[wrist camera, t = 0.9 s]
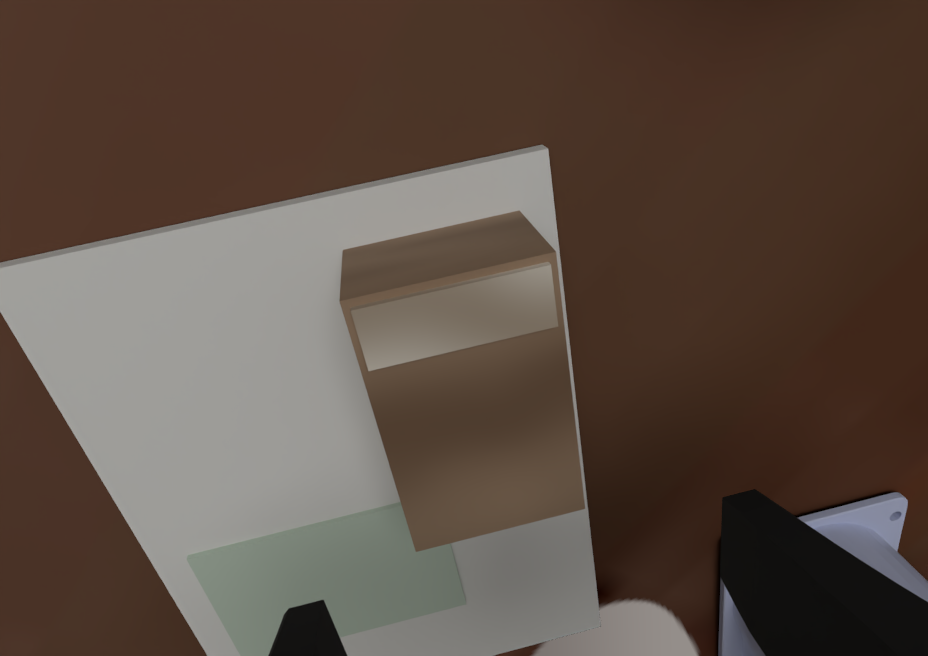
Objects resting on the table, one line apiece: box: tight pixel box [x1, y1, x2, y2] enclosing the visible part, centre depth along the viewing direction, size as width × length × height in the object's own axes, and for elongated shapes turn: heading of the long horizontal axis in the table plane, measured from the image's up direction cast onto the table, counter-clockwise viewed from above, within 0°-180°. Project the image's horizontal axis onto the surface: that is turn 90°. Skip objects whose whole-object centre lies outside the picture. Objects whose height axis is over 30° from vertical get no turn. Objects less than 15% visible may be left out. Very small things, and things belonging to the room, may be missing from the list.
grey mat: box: [0, 145, 601, 656], centre depth 21 cm, size 20×15×1 cm
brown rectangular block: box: [339, 210, 585, 552], centre depth 17 cm, size 8×5×4 cm, turn 10°
